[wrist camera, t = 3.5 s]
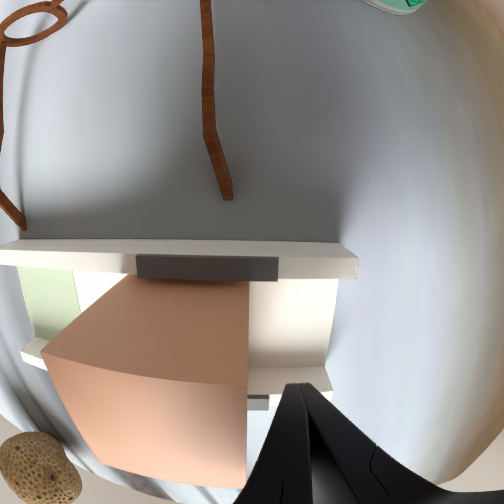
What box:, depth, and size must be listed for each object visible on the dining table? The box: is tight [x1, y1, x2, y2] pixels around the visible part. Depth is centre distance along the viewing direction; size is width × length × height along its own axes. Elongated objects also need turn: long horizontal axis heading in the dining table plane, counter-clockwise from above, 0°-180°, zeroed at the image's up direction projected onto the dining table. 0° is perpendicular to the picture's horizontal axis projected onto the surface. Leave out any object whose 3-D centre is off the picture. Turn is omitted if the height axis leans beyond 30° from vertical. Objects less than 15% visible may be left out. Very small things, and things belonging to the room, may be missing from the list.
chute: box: [0, 239, 359, 410], centre depth 11 cm, size 18×7×3 cm, turn 89°
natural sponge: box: [0, 432, 82, 504], centre depth 12 cm, size 9×9×10 cm
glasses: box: [0, 0, 233, 231], centre depth 8 cm, size 13×13×5 cm
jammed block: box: [40, 274, 250, 489], centre depth 9 cm, size 5×5×7 cm
